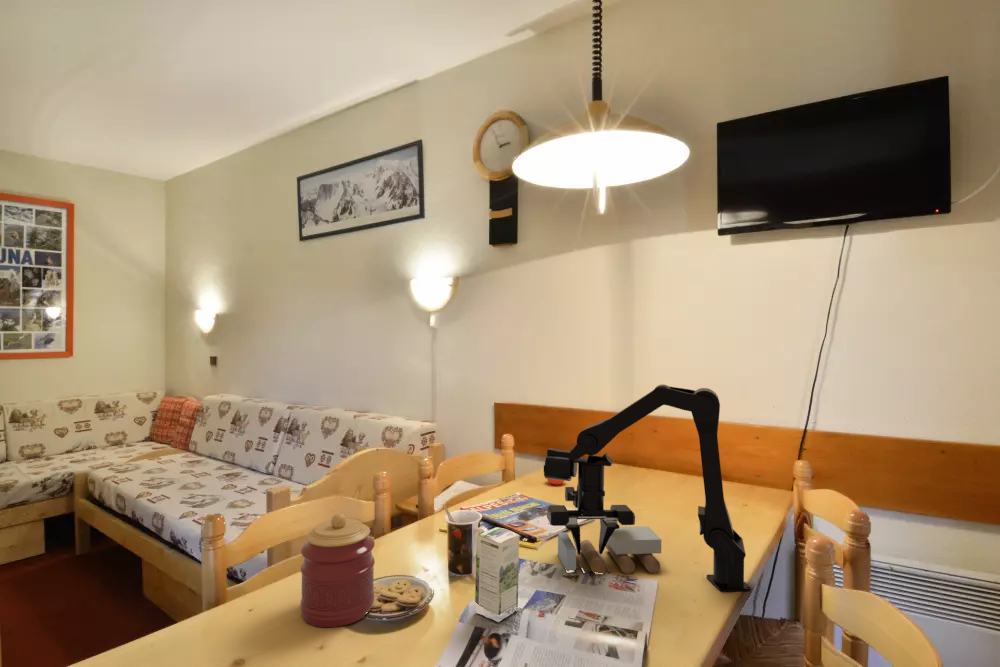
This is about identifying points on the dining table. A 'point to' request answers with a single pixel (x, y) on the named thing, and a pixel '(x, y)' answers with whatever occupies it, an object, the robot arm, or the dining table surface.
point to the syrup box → (497, 570)
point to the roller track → (630, 561)
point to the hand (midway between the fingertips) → (589, 553)
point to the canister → (337, 573)
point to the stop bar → (566, 551)
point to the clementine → (555, 481)
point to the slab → (635, 540)
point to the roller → (592, 557)
